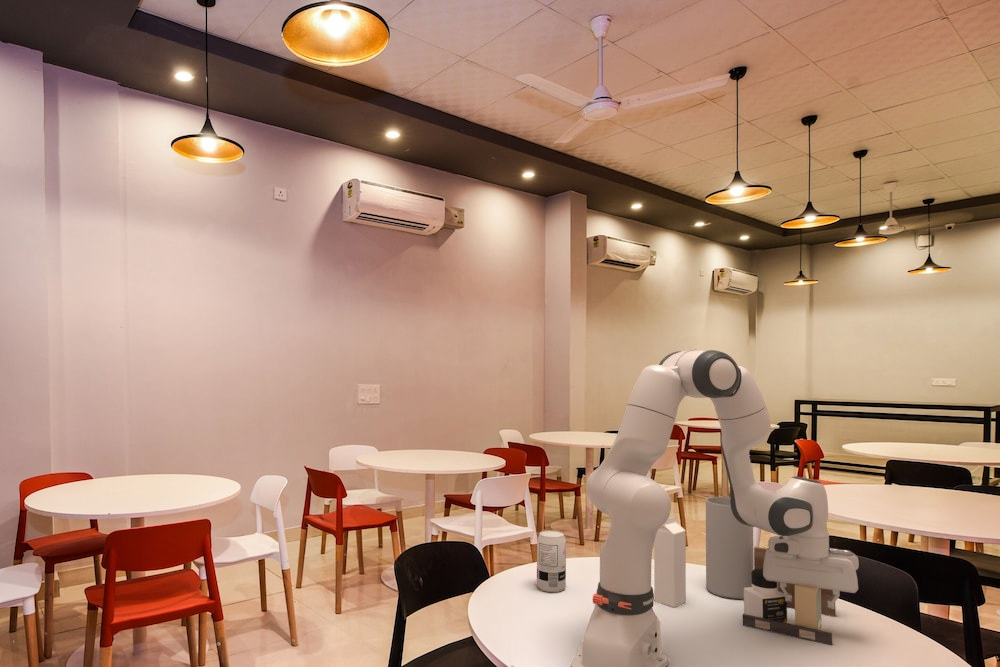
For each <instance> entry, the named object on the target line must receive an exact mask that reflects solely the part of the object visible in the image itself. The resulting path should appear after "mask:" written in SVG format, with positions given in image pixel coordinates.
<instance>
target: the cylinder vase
mask: <svg viewBox="0 0 1000 667" xmlns="http://www.w3.org/2000/svg"><path fill="white" fill-rule="evenodd" d="M730 497H731V496H711V497H707V498H705V577H706V578H705V587H706V589H707V590H708V591H709V592H710V593H711V594H713V595H715V596H718V597H721V598H725V599H732V600H744V588H747V587H752V580H751V572H752V571H753V570H754V527H752V526H748V525H744V524H742V523H740V522H739V521H738V520H737V519H736V518H735V517H734V515H733V513H732V510H731V503H730Z"/></svg>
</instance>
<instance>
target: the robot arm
mask: <svg viewBox="0 0 1000 667" xmlns="http://www.w3.org/2000/svg"><path fill="white" fill-rule="evenodd" d="M685 397H690V398H694V399H704V398H707V399H710V400H711V402H712V404H713V406H714V409H715V410H714V411H715V412H716V413H715V414H716V416H717V419H718V422H719V426H720V431H721V435H720V447H721V452H722V457H723V463H724V467H725V471H726V475H727V479H728V480H727V481H728V483H729V489H730V490H729V491H730V496H729V497H730V503H731V510H732V513H733V515H734V517H735V518H736V519H737V520H738V521H739V522H740V523H742V524H744V525H748V526H752V527H753V528H757V529H759V530H762V531H765V532H768V533H770V534H774V536H771V537H769V539H768V541H767V546H768V547H767V548H766V549H767V550H766V553H765V557H764V565H763V576H764V578H765V579H766V580H768V581H775V582H780V587H781V589H782V591H783V592H784V594H785V601H786V602H792V593H788V592H787V590H786V588H785V587H786V583H789V584H797V585H804V586H811V587H817V588H823V589H830V590H832V592H833V594H834V595H833V596H832V598H831V599H827V608H830V609H835V607H836V602H837V600H838V599H839V598H840V596H841V595H840V592H844V593H852V594H856V593H857V591H858V590H859V584H858V583H859V582H858V576H857V575H858V574H857V572H856V571H857V570H858V569H859V566H860V565H859V564H860V563H859V558H858V556H857V555H856V554H855V553H854V552H852V551H851V550H849V549H848V550H847V549H840V548H839V549H838V548H833V547H830V536H829V535H830V534H829V530H828V528H827V525H828V524H827V523H828V521H829V502H828V494H827V491H826V488H825V485H824V484H823V483H822V482H820V481H819V480H815V479H812V478H811V479H810V478H807V477H802V476H791V477H790V478H789V479H788V481H787V482H786V484H785V485H784V486H782V487H781V488H778V489H776V490H774V491H773V490H771V489H770V490H769V489H766V488H764V487H762V486H761V485H760V484H758V482H757V481H756V479H755V476H754V471H753V466H752V462H751V458H750V450H751V449H752V448H755V447H757V446H759V445H761V444H762V443H763V442H764V441H766V439H767V437H768V436H769V434H770V432H771V430H772V424H771V417H770V414H769V411H768V409H767V406H766V403H765V400H764V397H763V395H762V392H761V391H760V388H759V386H758V384H757V383H756V380H755V378H754V377H753V375H752V374H751V372H750V371H749V370H748V369H747V368H746V367H744V366H741V365H738V364H737V362H736V361H735V359H733V358H732V356H730V355H729V354H728V353H726V352H723V351H719V350H714V349H710V350H709V349H708V350H706V349H704V350H701V349H689V350H683V351H681V350H680V351H674V352H672V353H670V354H669V353H668V354H667V355H666V356H665V357H664V358H662V360H660V362H659V364H650V365H647V366H645V367H644V368H643V369H642V370H641V371H640V374H639V375H638V377H637V379H636V381H635V382H634V385H633V388H632V390H631V392H630V395H629V397H628V399H627V400H628V401H627V404H626V406H625V410H624V414H623V416H622V420H621V421H620V426H619V429H618V432H617V434H616V436H615V439H614V441H613V442H612V445H611V447H610V449H609V450H608V452H607V454H606V455H605V457H604V459H603V461H602V462H601V464H600V465H599V466H598V467H596V469H594V470H593V471H592V472H591V473H590V475H589V476H588V478H587V480H586V484H585V486H586V487H585V490H586V495H587V498H588V499H589V500H590V502H591V503H592V504H593V506H595V508H596V509H597V510H598V511H600V512H601V513H603V514H605V515H607V516H609V518H610V526H609V530H608V534H607V538H606V540H605V541H604V542H603V543H602V544H601V546H600V548H599V582H598V584H597V588H596V593H594V594H593V595H592V604H594V608H593V610H592V613H591V615H590V618H589V620H588V624H587V626H586V629H585V632H584V635H583V637H582V638H583V639H582V642H581V645H580V646H579V648H578V649H577V652H576V654H575V656H574V658H573V660H572V661H571V664H570V667H667V666H668V665H669V664H670V661H669V657H668V656H667V655H665V654H664V653H663V651H662V649H663V648H662V632H661V630H662V629H661V621H660V619H659V618H658V616H657V615H656V613H655V611H654V608H653V607H654V588H653V586H652V559H653V557H652V556H653V548H654V541H655V537H656V534H657V532H658V529H659V528H660V527H661V526H663V525H664V523H665V522H666V521H667V519H668V518H670V515H671V510H672V501H671V497H670V495H669V494H668V492H667V491H666V489H665V488H664V487H663V486H662V485H660V484H659V483H658V482H656V481H655V480H654V479H653V478H651V477H649V476H647V475H648V473H649V472H650V470H651V468H652V467H653V465H655V463H656V462H657V461H658V460H660V458H662V457H664V455H665V453H666V451H667V450H668V449H667V448H668V445H669V442H670V439H671V435H672V432H673V428H674V424H675V422H676V418H677V415H678V410H679V406H680V404H681V402H682V401H683V399H684V398H685Z"/></svg>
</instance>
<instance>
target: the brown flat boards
mask: <svg viewBox="0 0 1000 667" xmlns="http://www.w3.org/2000/svg"><path fill="white" fill-rule="evenodd" d="M767 549H768V548H766V547H760V546H753V561H754V570H755V569H763V565H764V557H765V553H766V550H767ZM795 585H796V584H789V583H786V587H785V588H786V590H787V592H788V593H792V602H787V609H789V608H790V609H794V610H795ZM777 591H779V592H781V593H783V594H784V592H783V591H782V589H781V587H780V582H778V590H777ZM833 595H834V594H833V592H832V590H830V589H823V588H821V615H823V614H824V615H823V616H828V615H830V616H829V617H833V616H837V614H836V613H837V612H836V610H837V609H836V608H837V606H835V609H830V608H827V599H831V598H832V596H833ZM742 626H744V627H745V626H746V627H749V628H754V629H759V630H762V631H767V632H772V633H776V634H780V635H785V636H789V637H794V638H798V639H802V640H806V641H812V642H816V643H820V644H825V645H829V646H833V633H832V632H831V631H826V630H822V629H821V630H817V629H812V628H808V627H803V626H798V625H795V623H788V622H787V623H784V622H780V621H775V620H770V619H766V618H761V617H756V616H752V615H747V614H744V613H742Z"/></svg>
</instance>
